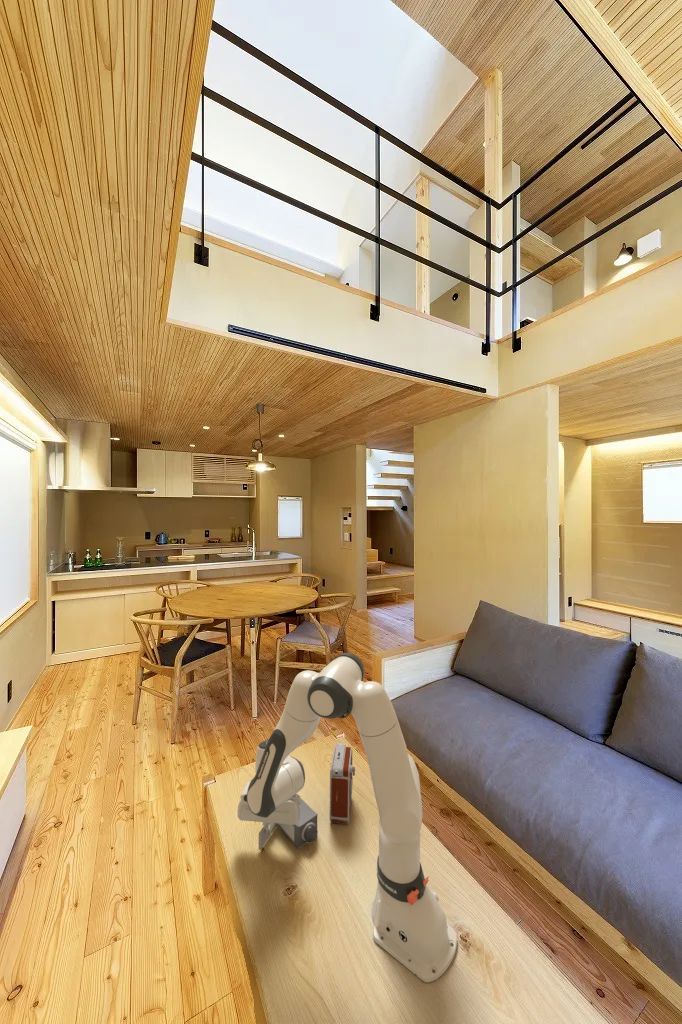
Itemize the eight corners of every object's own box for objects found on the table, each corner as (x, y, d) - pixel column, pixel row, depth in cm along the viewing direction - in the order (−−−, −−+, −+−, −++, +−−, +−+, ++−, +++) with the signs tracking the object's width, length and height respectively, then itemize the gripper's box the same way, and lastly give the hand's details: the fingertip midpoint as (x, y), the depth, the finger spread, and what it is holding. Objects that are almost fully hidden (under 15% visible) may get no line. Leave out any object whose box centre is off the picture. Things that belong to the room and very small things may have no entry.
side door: (260, 851, 119) (261, 832, 119) (258, 850, 119) (258, 831, 119) (278, 825, 129) (278, 808, 129) (275, 824, 129) (275, 807, 129)
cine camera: (355, 785, 148) (356, 736, 148) (352, 827, 129) (353, 770, 128) (332, 784, 149) (333, 734, 149) (326, 825, 130) (326, 768, 129)
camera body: (321, 839, 124) (321, 817, 124) (302, 854, 119) (302, 831, 118) (296, 813, 135) (296, 792, 135) (277, 825, 129) (277, 804, 129)
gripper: (302, 785, 124) (302, 827, 124) (242, 781, 126) (242, 822, 126) (298, 800, 117) (298, 844, 117) (235, 795, 119) (235, 838, 119)
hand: (269, 833), depth 122 cm, fingers closed
